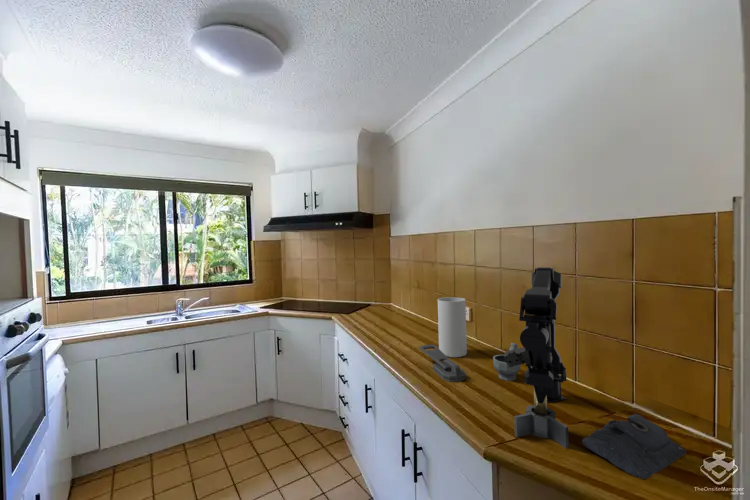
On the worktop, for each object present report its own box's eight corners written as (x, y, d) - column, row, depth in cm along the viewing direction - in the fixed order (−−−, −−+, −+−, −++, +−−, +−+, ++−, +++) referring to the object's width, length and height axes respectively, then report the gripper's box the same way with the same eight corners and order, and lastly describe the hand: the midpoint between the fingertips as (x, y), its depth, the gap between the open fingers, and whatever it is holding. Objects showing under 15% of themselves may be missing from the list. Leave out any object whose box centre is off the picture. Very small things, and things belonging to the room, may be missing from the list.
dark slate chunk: (569, 446, 78) (568, 426, 78) (617, 421, 88) (617, 404, 88) (645, 486, 65) (644, 463, 65) (692, 452, 75) (691, 431, 75)
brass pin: (547, 410, 85) (546, 372, 85) (547, 415, 82) (546, 376, 82) (534, 407, 86) (533, 370, 86) (534, 413, 84) (533, 374, 84)
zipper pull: (435, 343, 142) (469, 361, 118) (435, 358, 142) (469, 379, 118) (416, 346, 139) (447, 365, 116) (417, 361, 139) (448, 383, 116)
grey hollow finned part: (541, 421, 89) (540, 403, 89) (578, 445, 78) (577, 424, 78) (506, 429, 85) (506, 410, 85) (540, 455, 74) (539, 433, 74)
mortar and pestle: (510, 384, 113) (509, 350, 113) (487, 376, 121) (487, 344, 121) (528, 377, 119) (527, 344, 119) (506, 369, 127) (505, 339, 127)
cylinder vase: (450, 347, 157) (448, 296, 157) (472, 353, 147) (470, 299, 147) (433, 353, 149) (431, 299, 149) (455, 360, 139) (454, 302, 139)
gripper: (509, 329, 96) (510, 381, 96) (501, 347, 80) (503, 410, 80) (551, 333, 91) (553, 388, 91) (552, 353, 75) (554, 420, 75)
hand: (540, 400), depth 84 cm, fingers closed on brass pin, 3 cm apart
